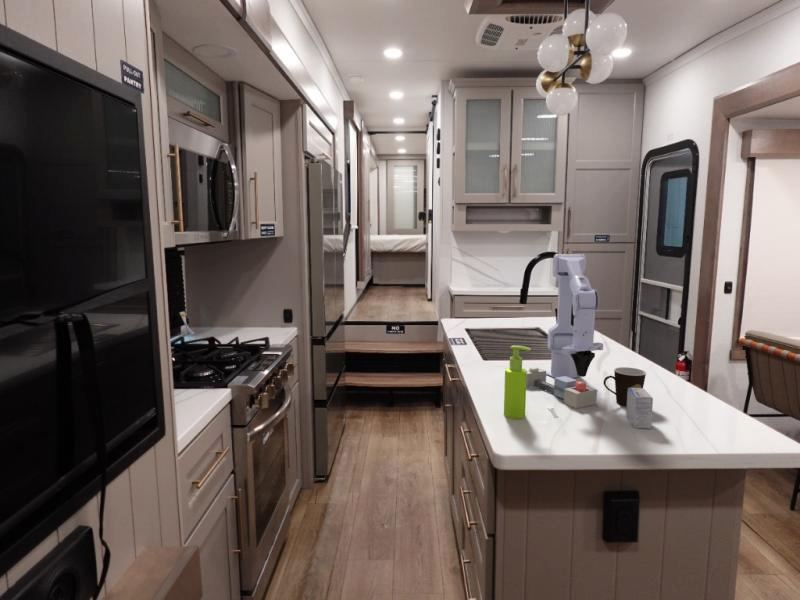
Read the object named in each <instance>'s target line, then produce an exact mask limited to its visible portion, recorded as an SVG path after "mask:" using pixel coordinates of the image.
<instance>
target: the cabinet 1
mask: <svg viewBox="0 0 800 600" xmlns="http://www.w3.org/2000/svg"><path fill="white" fill-rule="evenodd" d="M526 371H527V373H526V388H530V387H529V386H531V387H535V386H534V380H538V379H540V380H542V381H545V382H547V375H546V373H547V370H544V369H542V368H539V367H537V366H536V367H535V366H533V367H532V366H530V367H529V370H526Z"/></svg>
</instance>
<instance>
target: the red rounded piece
mask: <svg viewBox="0 0 800 600" xmlns="http://www.w3.org/2000/svg"><path fill="white" fill-rule="evenodd" d="M586 386H587V382H585V381H581V380H577V382H576V388H575V390H576V391H579V392H585V391H586Z"/></svg>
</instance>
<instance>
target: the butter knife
mask: <svg viewBox="0 0 800 600" xmlns="http://www.w3.org/2000/svg"><path fill="white" fill-rule="evenodd" d="M554 409H555V407H554V408H551V409H549V408H548V409H547V410H548V411H549V412H550V413H551V416H552V417H553V418H554V419H559V416H558V415H557V413H556V411H555V410H554Z"/></svg>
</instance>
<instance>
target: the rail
mask: <svg viewBox="0 0 800 600" xmlns="http://www.w3.org/2000/svg"><path fill="white" fill-rule="evenodd" d="M533 387H536V388H538V387H539V388H538V389H540V388H541V390H543V391H545V390H546V391H545V392H548V393H550V392H551V393H550V394H552V393H553V395H554V384H552V383H549V382H547V381H546V382H545V381H542V380H540V379H538V380H534V386H533Z"/></svg>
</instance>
